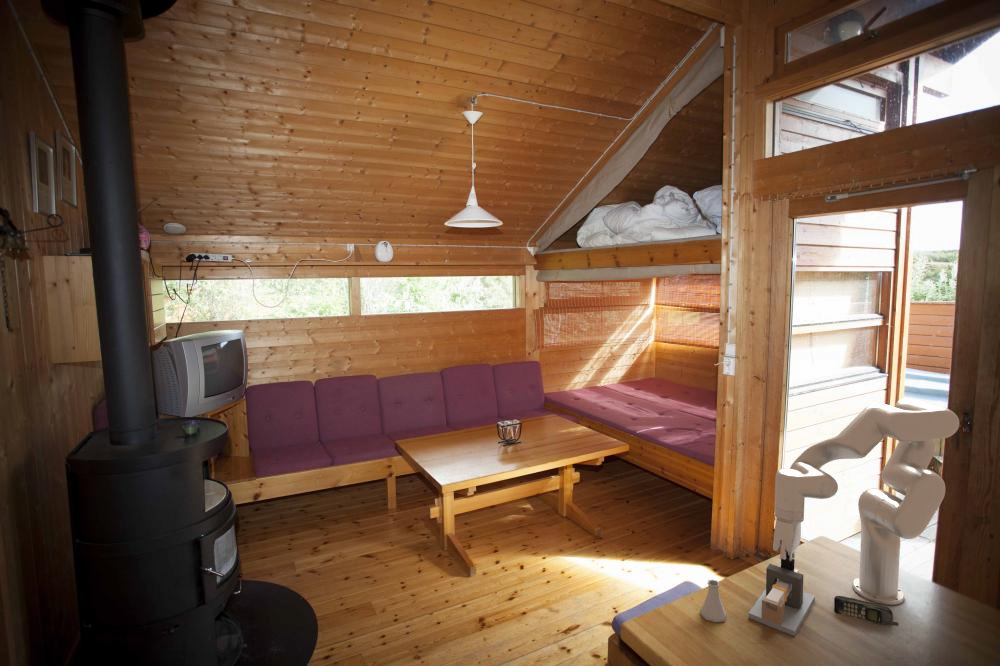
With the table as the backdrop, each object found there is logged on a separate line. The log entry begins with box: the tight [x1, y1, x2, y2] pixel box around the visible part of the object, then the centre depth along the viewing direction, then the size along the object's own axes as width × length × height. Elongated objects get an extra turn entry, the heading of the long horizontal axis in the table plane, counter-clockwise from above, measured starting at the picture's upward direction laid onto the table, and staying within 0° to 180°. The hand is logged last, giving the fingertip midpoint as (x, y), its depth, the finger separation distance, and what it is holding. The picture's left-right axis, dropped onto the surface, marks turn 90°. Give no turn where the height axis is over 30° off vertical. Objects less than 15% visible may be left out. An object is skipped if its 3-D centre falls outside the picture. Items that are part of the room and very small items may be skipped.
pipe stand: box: [748, 568, 816, 637], centre depth 155 cm, size 20×12×8 cm, turn 136°
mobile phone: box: [833, 595, 899, 625], centre depth 150 cm, size 5×3×15 cm
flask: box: [699, 579, 728, 623], centre depth 154 cm, size 7×7×10 cm
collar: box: [765, 563, 804, 609], centre depth 156 cm, size 3×9×9 cm, turn 46°
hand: (787, 571), depth 158 cm, fingers closed
